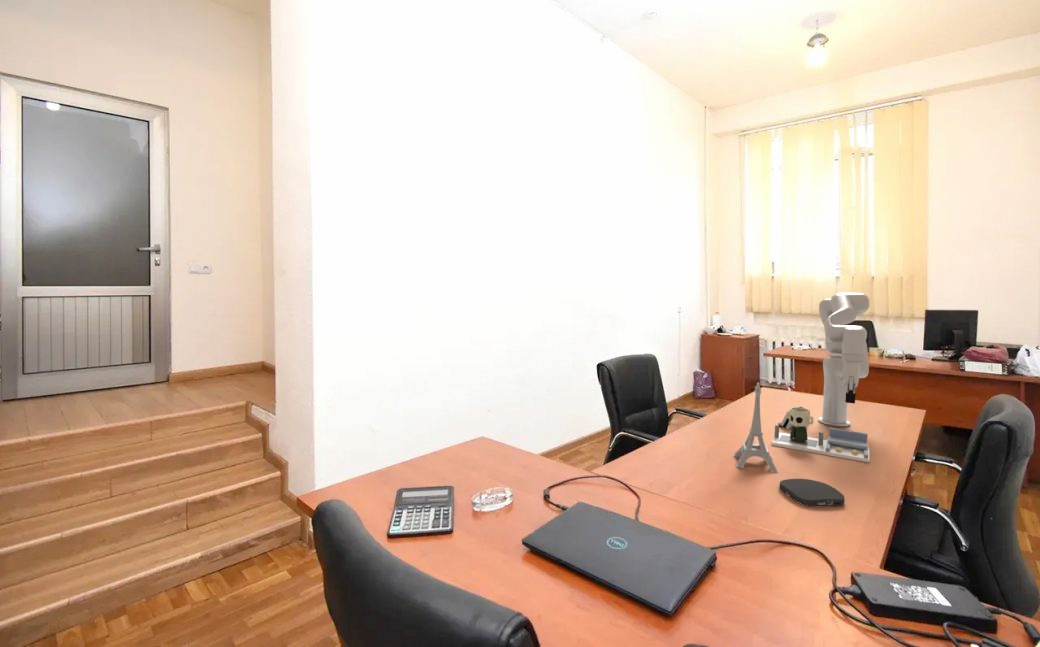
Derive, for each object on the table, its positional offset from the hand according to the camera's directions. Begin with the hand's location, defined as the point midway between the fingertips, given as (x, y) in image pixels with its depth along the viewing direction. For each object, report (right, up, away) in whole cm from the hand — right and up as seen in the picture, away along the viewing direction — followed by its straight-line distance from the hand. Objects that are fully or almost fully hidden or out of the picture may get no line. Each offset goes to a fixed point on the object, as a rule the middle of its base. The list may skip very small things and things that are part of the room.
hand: (850, 402), depth 193 cm
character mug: (-20, -16, +1) cm, 26 cm away
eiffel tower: (-49, -19, -19) cm, 56 cm away
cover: (-5, -15, -6) cm, 17 cm away
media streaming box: (-44, -22, -46) cm, 67 cm away
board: (-15, -17, -3) cm, 23 cm away
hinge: (-8, -15, +27) cm, 32 cm away
